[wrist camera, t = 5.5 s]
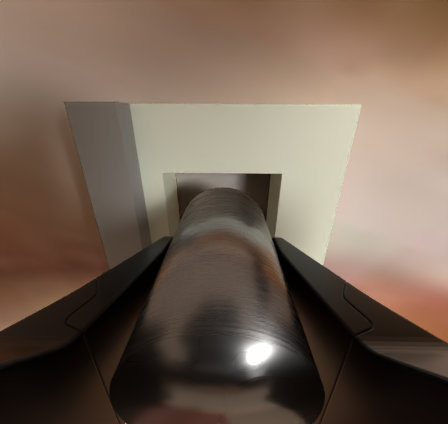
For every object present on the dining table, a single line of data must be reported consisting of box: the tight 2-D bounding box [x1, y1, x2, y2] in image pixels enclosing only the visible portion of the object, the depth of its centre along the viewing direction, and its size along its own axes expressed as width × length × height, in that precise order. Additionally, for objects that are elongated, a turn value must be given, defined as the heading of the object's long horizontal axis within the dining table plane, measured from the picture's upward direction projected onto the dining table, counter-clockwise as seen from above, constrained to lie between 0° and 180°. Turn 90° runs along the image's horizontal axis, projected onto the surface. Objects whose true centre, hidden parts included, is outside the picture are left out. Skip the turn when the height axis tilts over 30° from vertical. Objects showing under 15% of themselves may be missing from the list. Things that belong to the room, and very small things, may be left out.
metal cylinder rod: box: [109, 188, 325, 424], centre depth 7 cm, size 4×4×7 cm
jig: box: [64, 102, 362, 270], centre depth 11 cm, size 11×11×4 cm
